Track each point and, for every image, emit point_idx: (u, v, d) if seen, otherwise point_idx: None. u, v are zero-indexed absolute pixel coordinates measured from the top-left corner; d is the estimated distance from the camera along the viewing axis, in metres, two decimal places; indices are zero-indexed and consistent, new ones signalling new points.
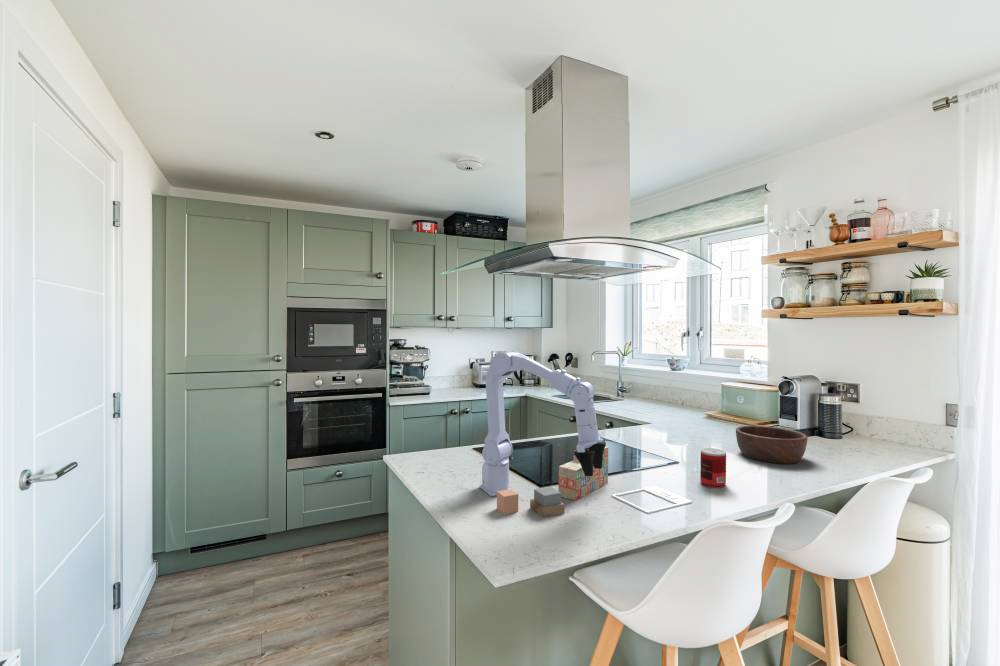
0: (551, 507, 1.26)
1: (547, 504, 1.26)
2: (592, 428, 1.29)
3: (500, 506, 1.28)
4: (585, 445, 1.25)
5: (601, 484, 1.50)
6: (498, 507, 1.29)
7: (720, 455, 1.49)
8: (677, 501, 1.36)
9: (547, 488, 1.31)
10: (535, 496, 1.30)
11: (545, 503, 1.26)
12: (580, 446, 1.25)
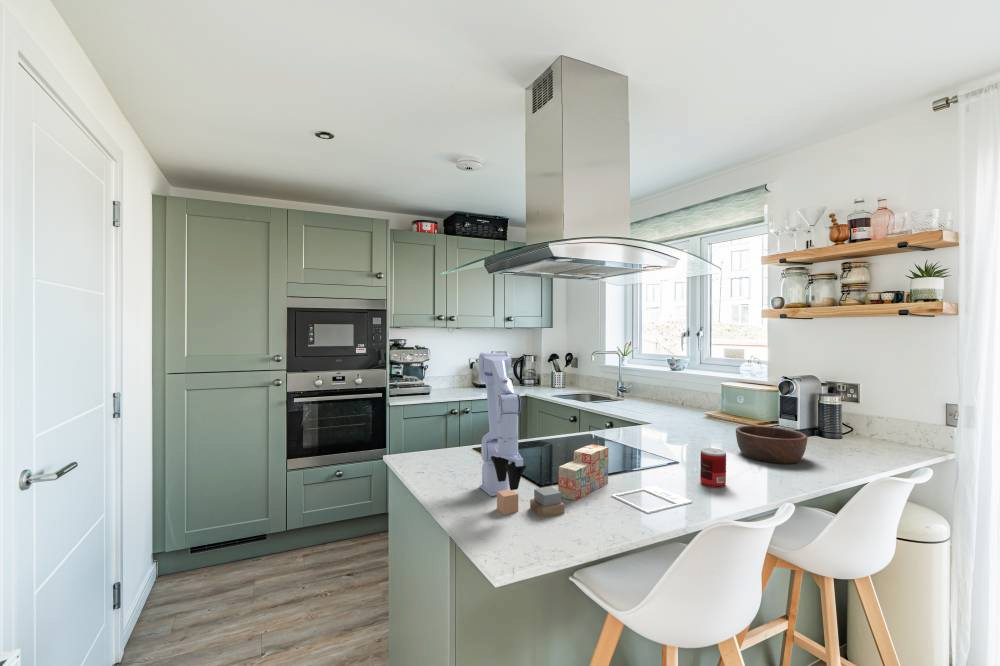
0: (551, 507, 1.26)
1: (547, 504, 1.26)
2: None
3: (500, 506, 1.28)
4: (495, 449, 1.34)
5: (601, 484, 1.49)
6: (498, 507, 1.29)
7: (720, 455, 1.49)
8: (677, 501, 1.36)
9: (547, 488, 1.31)
10: (535, 496, 1.30)
11: (545, 503, 1.26)
12: None
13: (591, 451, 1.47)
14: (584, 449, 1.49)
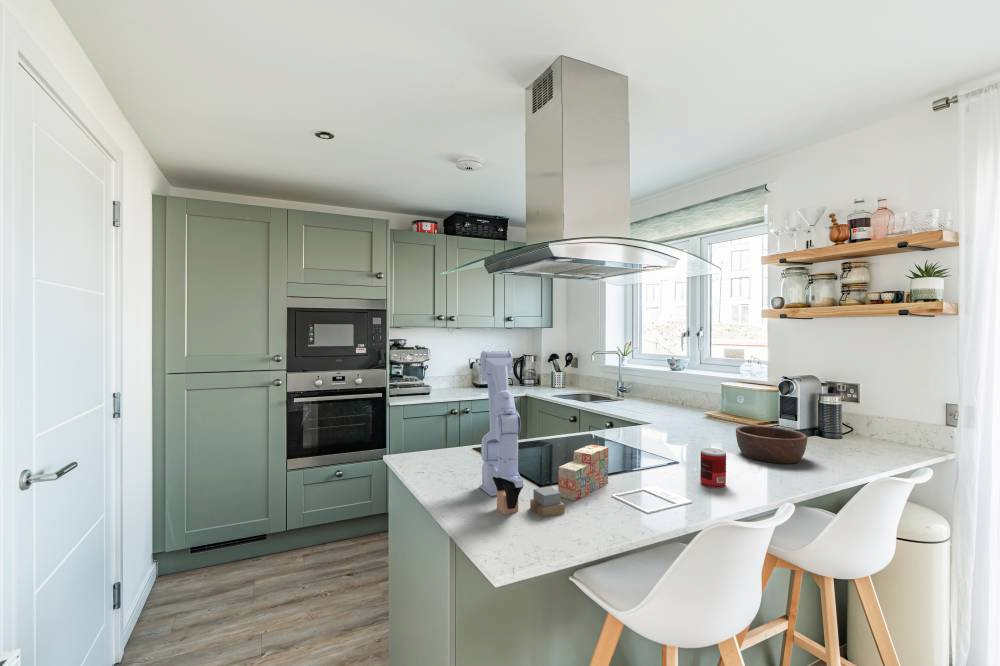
0: (551, 507, 1.26)
1: (547, 504, 1.26)
2: None
3: (500, 505, 1.28)
4: (495, 468, 1.34)
5: (601, 484, 1.49)
6: (498, 506, 1.29)
7: (720, 455, 1.49)
8: (677, 501, 1.36)
9: (546, 488, 1.31)
10: (534, 496, 1.30)
11: (545, 503, 1.25)
12: None
13: (591, 451, 1.46)
14: (584, 449, 1.49)
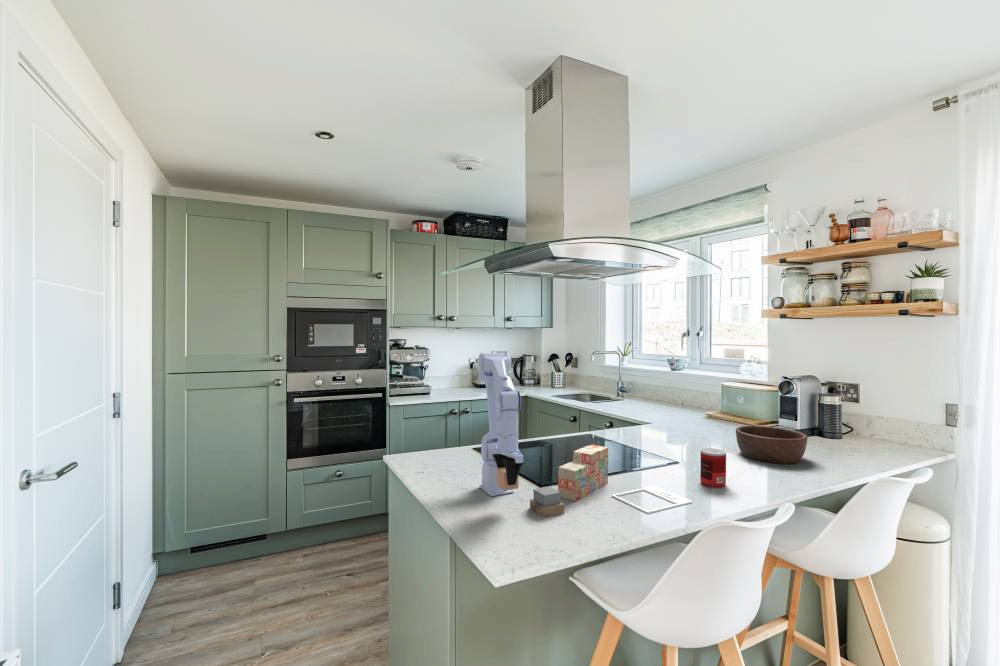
0: (551, 507, 1.26)
1: (547, 504, 1.26)
2: None
3: (500, 482, 1.28)
4: (495, 445, 1.34)
5: (601, 485, 1.49)
6: (499, 483, 1.29)
7: (720, 455, 1.49)
8: (677, 501, 1.36)
9: (546, 488, 1.31)
10: (535, 496, 1.30)
11: (545, 503, 1.26)
12: None
13: (591, 451, 1.46)
14: (584, 449, 1.49)
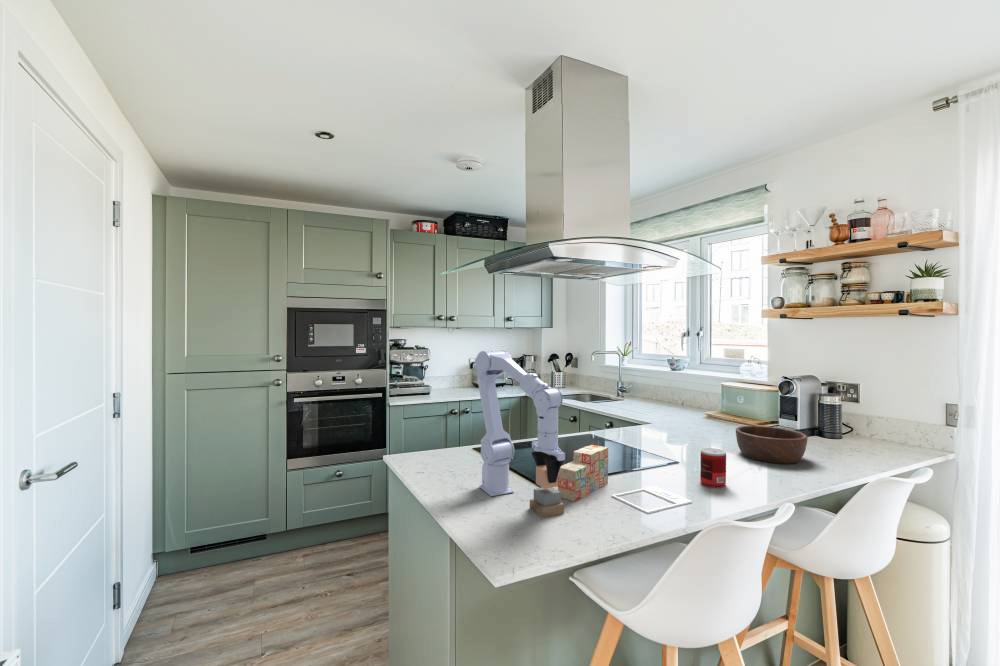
0: (551, 507, 1.26)
1: (547, 504, 1.26)
2: None
3: (540, 480, 1.28)
4: (533, 443, 1.34)
5: (601, 485, 1.49)
6: (538, 481, 1.29)
7: (720, 455, 1.49)
8: (677, 501, 1.36)
9: (546, 488, 1.31)
10: (535, 496, 1.30)
11: (545, 503, 1.26)
12: None
13: (591, 451, 1.46)
14: (584, 449, 1.49)
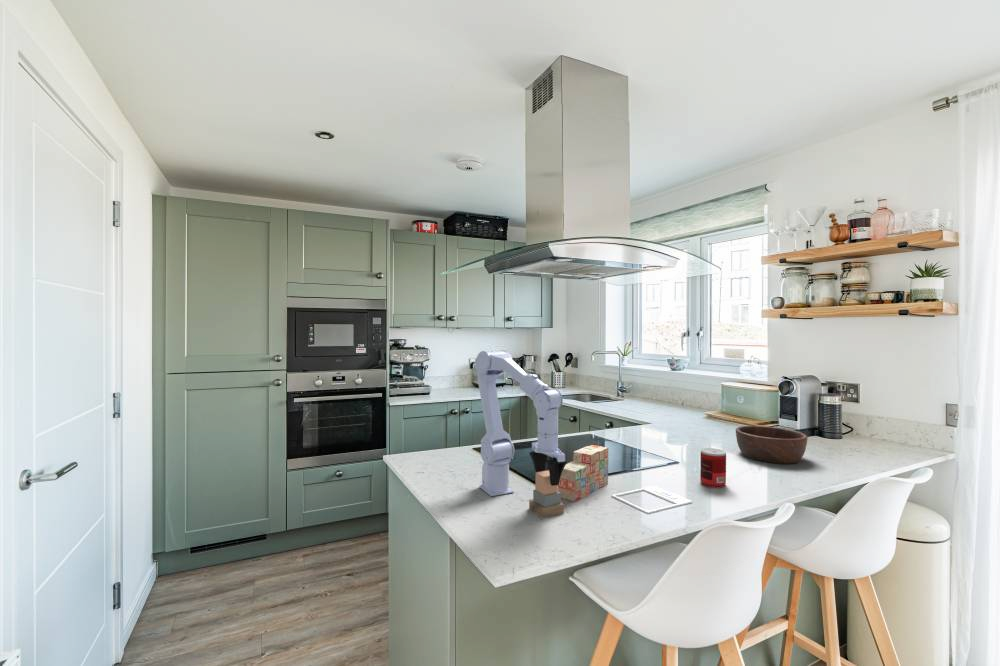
0: (550, 507, 1.25)
1: (547, 504, 1.26)
2: None
3: (540, 486, 1.28)
4: (533, 445, 1.34)
5: (601, 485, 1.49)
6: (537, 488, 1.29)
7: (720, 455, 1.49)
8: (677, 501, 1.36)
9: None
10: (534, 497, 1.29)
11: (545, 504, 1.25)
12: None
13: (591, 452, 1.46)
14: (584, 450, 1.48)
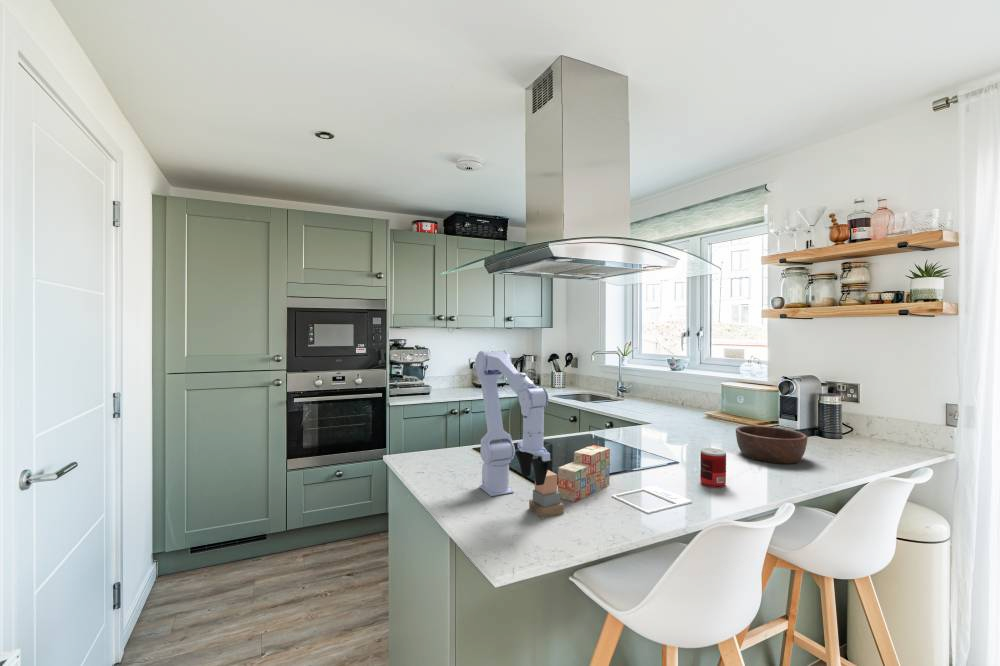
0: (550, 507, 1.25)
1: (547, 505, 1.26)
2: None
3: (539, 486, 1.28)
4: (519, 443, 1.32)
5: (602, 486, 1.48)
6: (537, 487, 1.29)
7: (720, 455, 1.49)
8: (677, 501, 1.36)
9: None
10: (534, 497, 1.29)
11: (545, 504, 1.25)
12: None
13: (592, 452, 1.45)
14: (585, 450, 1.48)
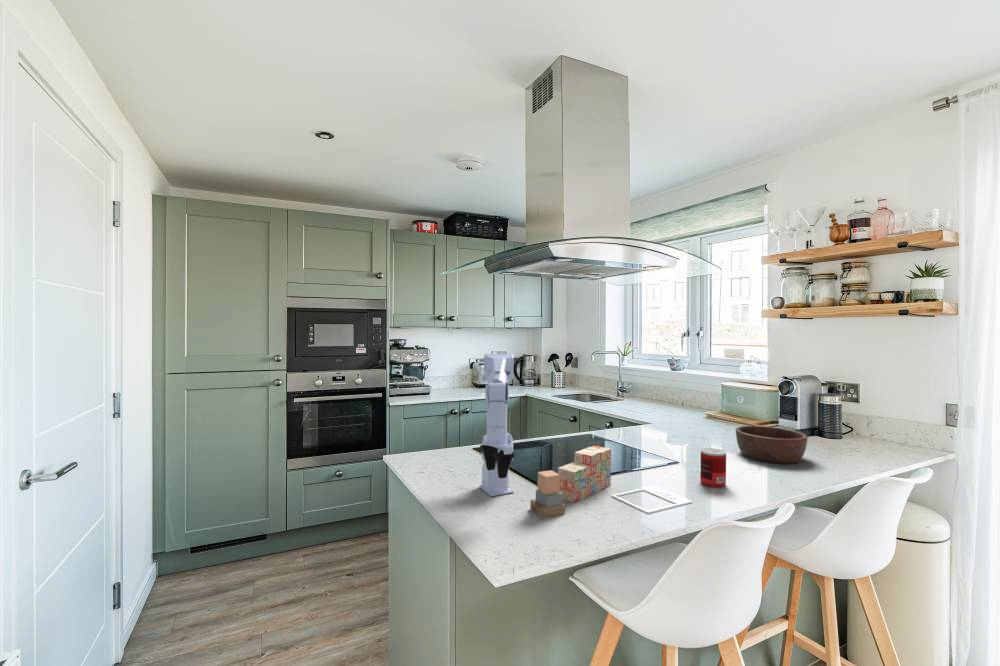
0: (551, 507, 1.25)
1: (549, 505, 1.25)
2: None
3: (541, 486, 1.28)
4: (484, 438, 1.34)
5: (603, 487, 1.47)
6: (539, 487, 1.29)
7: (720, 455, 1.49)
8: (677, 501, 1.36)
9: None
10: (537, 497, 1.29)
11: (547, 504, 1.25)
12: None
13: (592, 453, 1.45)
14: (585, 450, 1.47)
